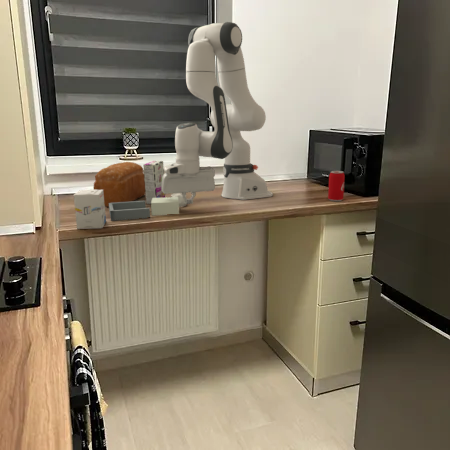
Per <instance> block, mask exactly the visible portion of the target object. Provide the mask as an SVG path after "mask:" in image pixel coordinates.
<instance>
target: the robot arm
mask: <svg viewBox="0 0 450 450" xmlns="http://www.w3.org/2000/svg"><path fill="white" fill-rule="evenodd" d="M187 44H188V48H187V53H186V62H185V82H186V86H187V89H188V91H189V92H190V93H191V94H192V95H193V96H194V97H195V98H198V99H199V100H201V101H204V102H205V103H206V104H208V105H209V106H210V109H211V112H210V115H209V117H210V119H209V120H210V123H211V124H212V126H213V128H214V130H213V131H207V130H203V129H201V128H199V127H198V125H197V123H196V122H183V123H180V124H179V125H177V126H176V129H175V134H174V135H175V137H174V146H175V151H176V155H175V162H174V163H171V164H169V165H166V166H165V165H164V166H163V167H164V174H163V176H162V183H161V190H162V192H163V193H164V194H165V195H168V194H170V195H171V194H174V193H182V196H183V198H184V199H185V204H186V205H190V204H191V205H192V204H194V199H195V197H196V195H197V194H196V193H200V192H213V191H214V190H215V188H216V184H215V175H216V173H215V168H214V167H211V165H210V166H201V165H200V157H204V158H213V159H217V160H224V163H223V168H222V170H223V171H222V172H223V179H224V180H223V187H222V192H221V197H222V198H225V199H235V200H241V201H242V200H243V201H245V200H246V201H247V200H253V199H260V198H261V199H263V198H271V197H273V196H274V195H273V192H272V191H270V190H268V185H267V181H266V180H265V179H264V178H262V177H261V176H260V175H259V174H257V173H256V172H255V171H257V170H258V169H259V166H258V165H257V164H253V163H251V146H250V144H249V142H248V141H247V140H245V139H244V137H243V136H242V134H241V132H254V131H259V130H260V129H262V128H263V127H264V125H265V122H266V118H267V117H266V112H265V110H264V108H263V107H262V106H261V105H260V104H258V103H257V101H256V100H255V99H254V98H253V96H252V94H251V92H250V89H249V86H248V81H247V73H246V65H245V59H244V54H243V51H242V44H243V32H242V30H241V28H240V27H239V26H238V24H237V23H236V22H231V21H226V22H214V23H211V24H206V25H203V26H197V27H195V28H193V29H191V30H190V32H189V34H188V40H187ZM216 69H217V70H216ZM216 71H217V72H216ZM217 74H218V80H217ZM218 81H219V83H218ZM225 97H227V98H228V99H229V101H230V102H231V104H230V103H226V99H225ZM187 193H191V196H190V198H187ZM185 195H186V197H185Z"/></svg>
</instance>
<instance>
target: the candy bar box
mask: <svg viewBox="0 0 450 450" xmlns="http://www.w3.org/2000/svg"><path fill="white" fill-rule="evenodd" d="M142 167H143V174H144V180H145V202H146V205H151V201H152V198H166V194H164V193H163V192H162V190H161V183H162V176H163V174H164V173H165V172H164V167H165V166H164V160H152V161H149V162H146V163H144V164H143V166H142Z"/></svg>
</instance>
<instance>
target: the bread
mask: <svg viewBox="0 0 450 450" xmlns="http://www.w3.org/2000/svg"><path fill="white" fill-rule="evenodd" d="M94 177H95V178H94V179H95V181H94V182H93V190H103V193H104V204H105V208H107V207H108V208H109V203H116V202H131V201H137V199H140V198H142V197H143V196H146V193H145V180H144V167H143V166H142V165H141V164H138V163H136V162H134V161H133V162H131V161H124V162H118V163H117V162H116V163H113V164H110V165H108V166H107V167H103V168H102V169H100V170H99V171H98V172H97V173H96V174H95V176H94Z"/></svg>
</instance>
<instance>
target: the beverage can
mask: <svg viewBox="0 0 450 450" xmlns="http://www.w3.org/2000/svg"><path fill="white" fill-rule="evenodd" d="M345 178H346V177H345V172H344V171H342V170H332V171H330V173H329V176H328V192H327V194H328V195H327V199H328V200H329V201H331V202H341V201H342V200H344V194H345V180H346V179H345Z"/></svg>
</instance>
